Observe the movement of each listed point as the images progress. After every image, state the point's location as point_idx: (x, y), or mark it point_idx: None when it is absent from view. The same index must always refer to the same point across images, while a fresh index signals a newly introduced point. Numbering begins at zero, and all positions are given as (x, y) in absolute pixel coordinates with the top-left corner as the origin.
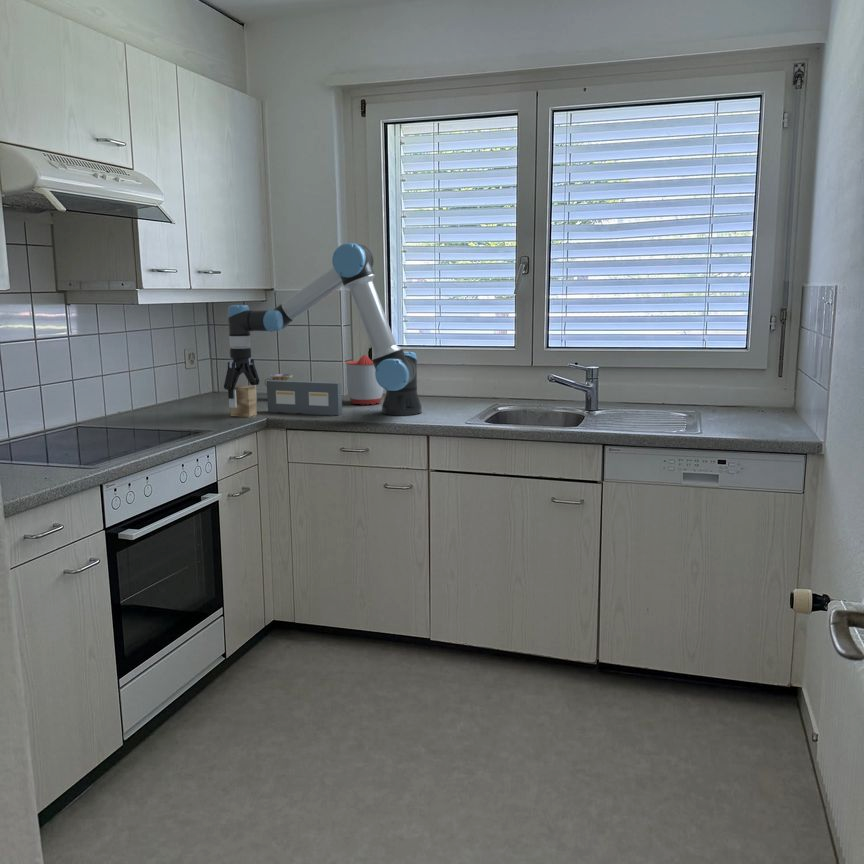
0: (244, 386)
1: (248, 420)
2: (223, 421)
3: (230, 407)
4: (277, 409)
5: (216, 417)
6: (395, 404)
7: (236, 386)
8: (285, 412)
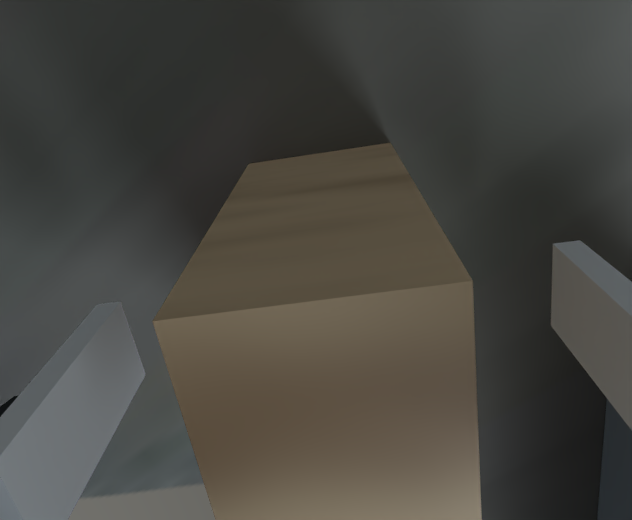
0: (394, 499)
1: (175, 427)
2: (17, 290)
3: (232, 192)
4: (620, 420)
5: (122, 61)
6: None
7: (328, 374)
8: (603, 465)
